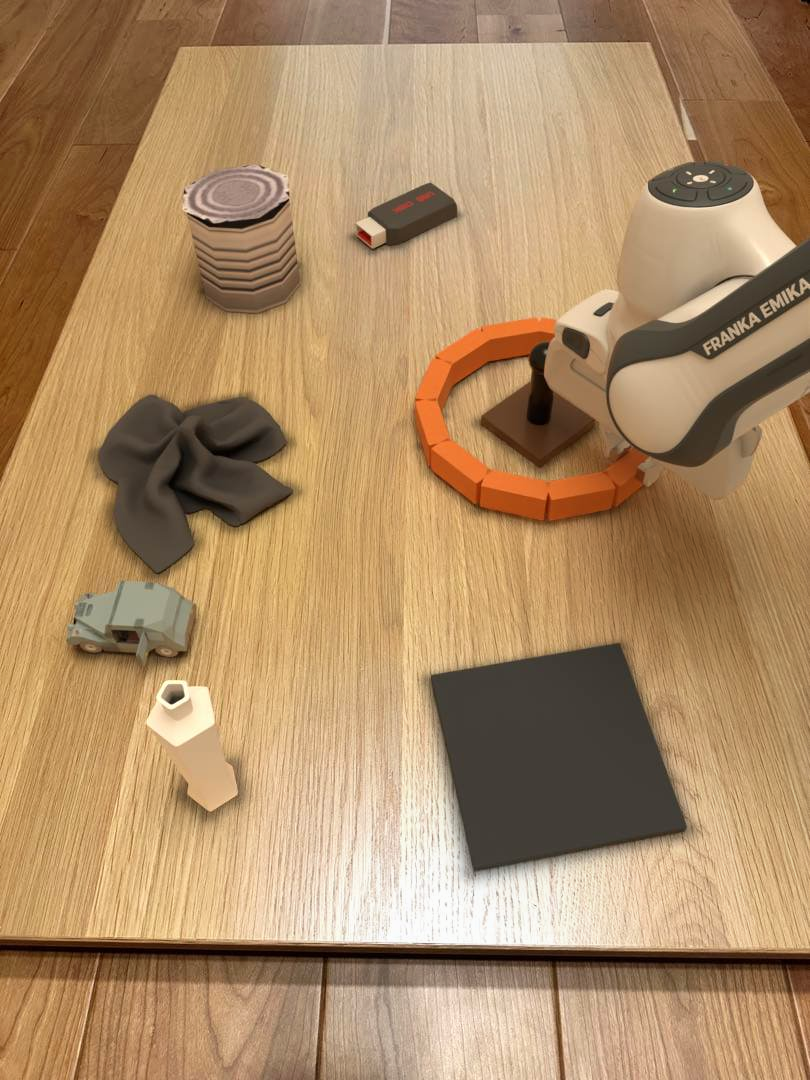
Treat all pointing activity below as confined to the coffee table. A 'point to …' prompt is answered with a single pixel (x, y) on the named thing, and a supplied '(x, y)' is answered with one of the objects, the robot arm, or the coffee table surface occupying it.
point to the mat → (553, 757)
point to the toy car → (133, 620)
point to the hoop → (496, 485)
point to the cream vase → (193, 742)
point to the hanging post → (537, 416)
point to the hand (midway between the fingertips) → (630, 468)
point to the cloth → (188, 470)
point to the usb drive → (406, 216)
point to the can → (243, 237)
